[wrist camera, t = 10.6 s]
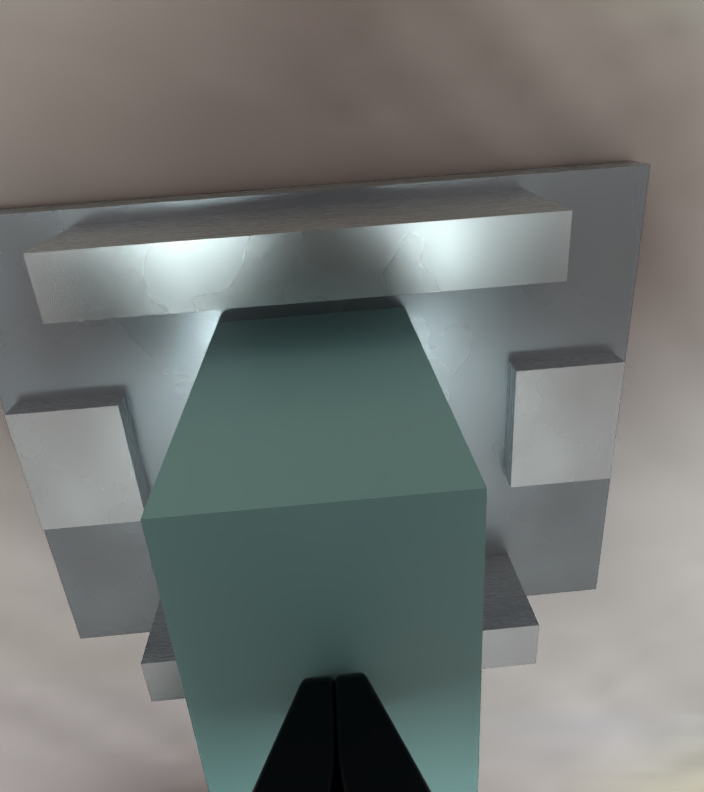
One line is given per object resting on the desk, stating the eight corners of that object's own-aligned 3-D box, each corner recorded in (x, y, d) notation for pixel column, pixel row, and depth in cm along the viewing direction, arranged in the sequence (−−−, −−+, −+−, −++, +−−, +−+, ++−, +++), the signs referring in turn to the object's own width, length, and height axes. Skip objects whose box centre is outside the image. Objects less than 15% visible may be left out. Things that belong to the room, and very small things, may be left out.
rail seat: (584, 569, 18) (638, 662, 15) (89, 616, 18) (45, 721, 15) (631, 160, 14) (723, 180, 11) (-40, 212, 13) (-142, 246, 10)
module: (413, 532, 16) (480, 809, 10) (252, 547, 16) (217, 837, 10) (406, 306, 14) (490, 487, 7) (215, 322, 14) (135, 519, 7)
